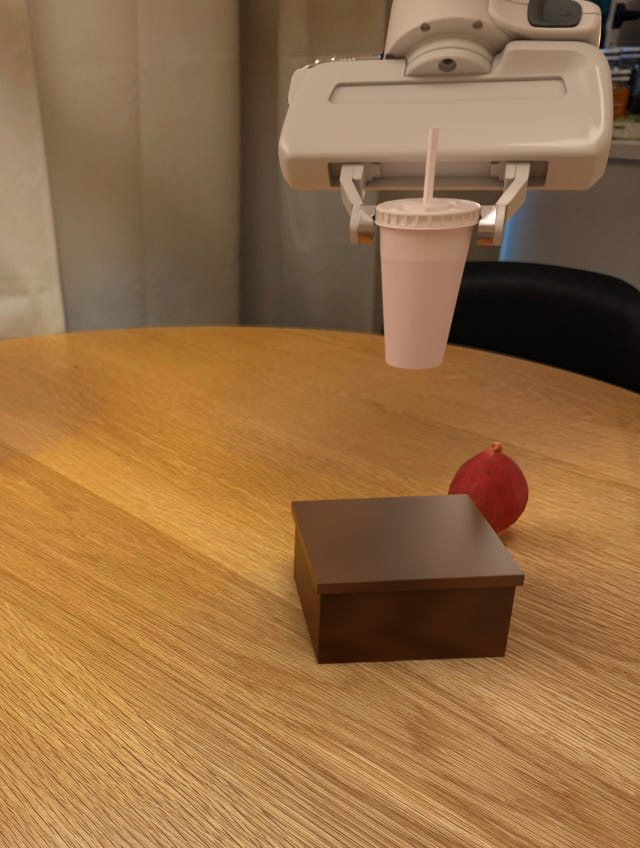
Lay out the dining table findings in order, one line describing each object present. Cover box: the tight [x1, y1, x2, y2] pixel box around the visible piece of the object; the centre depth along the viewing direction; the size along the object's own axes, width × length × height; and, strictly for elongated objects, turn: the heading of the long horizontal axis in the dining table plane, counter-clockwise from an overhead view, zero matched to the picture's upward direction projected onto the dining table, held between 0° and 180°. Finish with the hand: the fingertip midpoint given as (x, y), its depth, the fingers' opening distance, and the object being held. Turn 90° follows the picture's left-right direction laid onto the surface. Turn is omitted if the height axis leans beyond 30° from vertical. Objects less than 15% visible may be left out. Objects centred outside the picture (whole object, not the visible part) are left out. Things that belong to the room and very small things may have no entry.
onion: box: [447, 441, 530, 535], centre depth 77 cm, size 6×6×8 cm
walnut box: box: [290, 494, 526, 664], centre depth 68 cm, size 13×13×6 cm
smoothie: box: [374, 127, 481, 370], centre depth 63 cm, size 6×6×14 cm
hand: (424, 239), depth 62 cm, fingers closed on smoothie, 6 cm apart
